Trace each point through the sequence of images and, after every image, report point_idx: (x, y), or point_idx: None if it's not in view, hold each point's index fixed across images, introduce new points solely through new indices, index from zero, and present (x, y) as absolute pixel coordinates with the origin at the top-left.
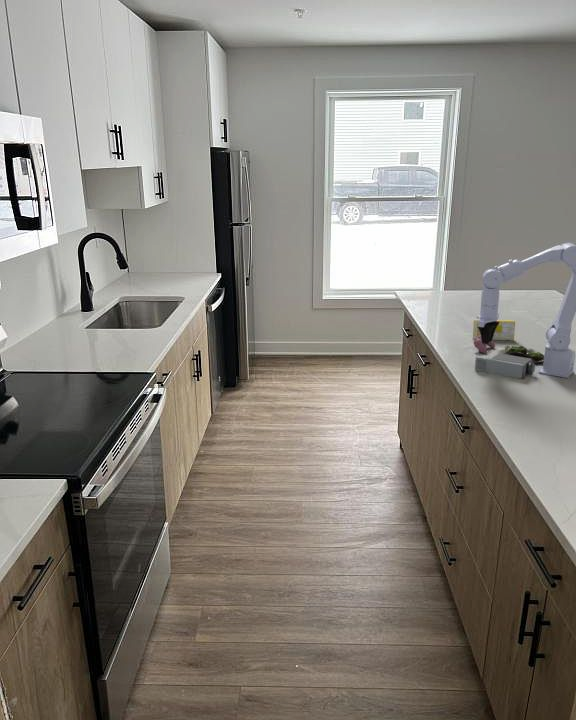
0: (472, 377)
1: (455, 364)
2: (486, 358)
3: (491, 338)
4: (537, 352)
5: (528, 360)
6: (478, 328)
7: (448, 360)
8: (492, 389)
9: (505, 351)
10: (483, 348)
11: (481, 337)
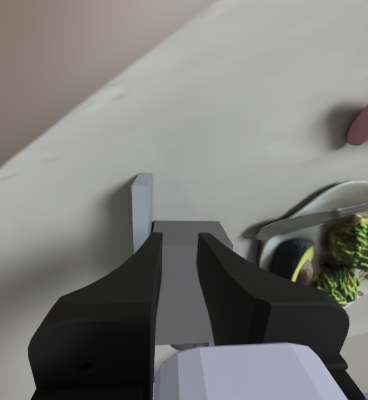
0: (65, 191)
1: (168, 78)
2: (139, 229)
3: (200, 280)
4: (350, 297)
5: (195, 340)
6: (85, 287)
7: (205, 25)
8: (7, 274)
9: (351, 211)
10: (363, 131)
11: (139, 248)
